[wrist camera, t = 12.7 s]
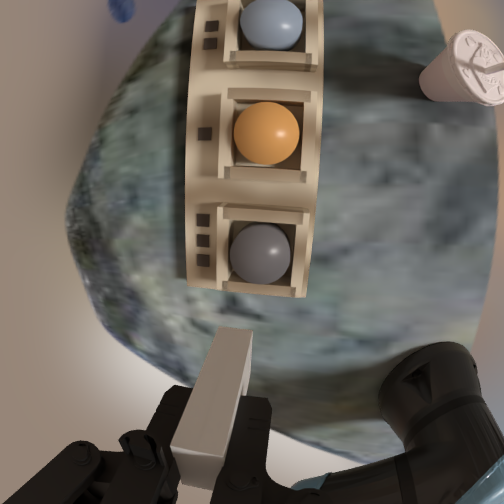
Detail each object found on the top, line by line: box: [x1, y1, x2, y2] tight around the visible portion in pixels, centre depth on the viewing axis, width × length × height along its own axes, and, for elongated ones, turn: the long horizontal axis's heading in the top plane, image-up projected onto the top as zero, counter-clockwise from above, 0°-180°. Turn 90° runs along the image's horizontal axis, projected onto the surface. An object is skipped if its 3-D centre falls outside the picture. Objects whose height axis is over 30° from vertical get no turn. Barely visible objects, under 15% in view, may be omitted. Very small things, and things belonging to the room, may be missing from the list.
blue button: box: [240, 0, 303, 52], centre depth 19 cm, size 5×5×2 cm
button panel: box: [185, 0, 324, 298], centre depth 24 cm, size 30×12×4 cm, turn 177°
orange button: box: [234, 102, 299, 165], centre depth 23 cm, size 5×5×2 cm
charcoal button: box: [230, 221, 290, 284], centre depth 26 cm, size 5×5×2 cm
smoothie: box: [419, 30, 504, 106], centre depth 15 cm, size 6×6×14 cm
